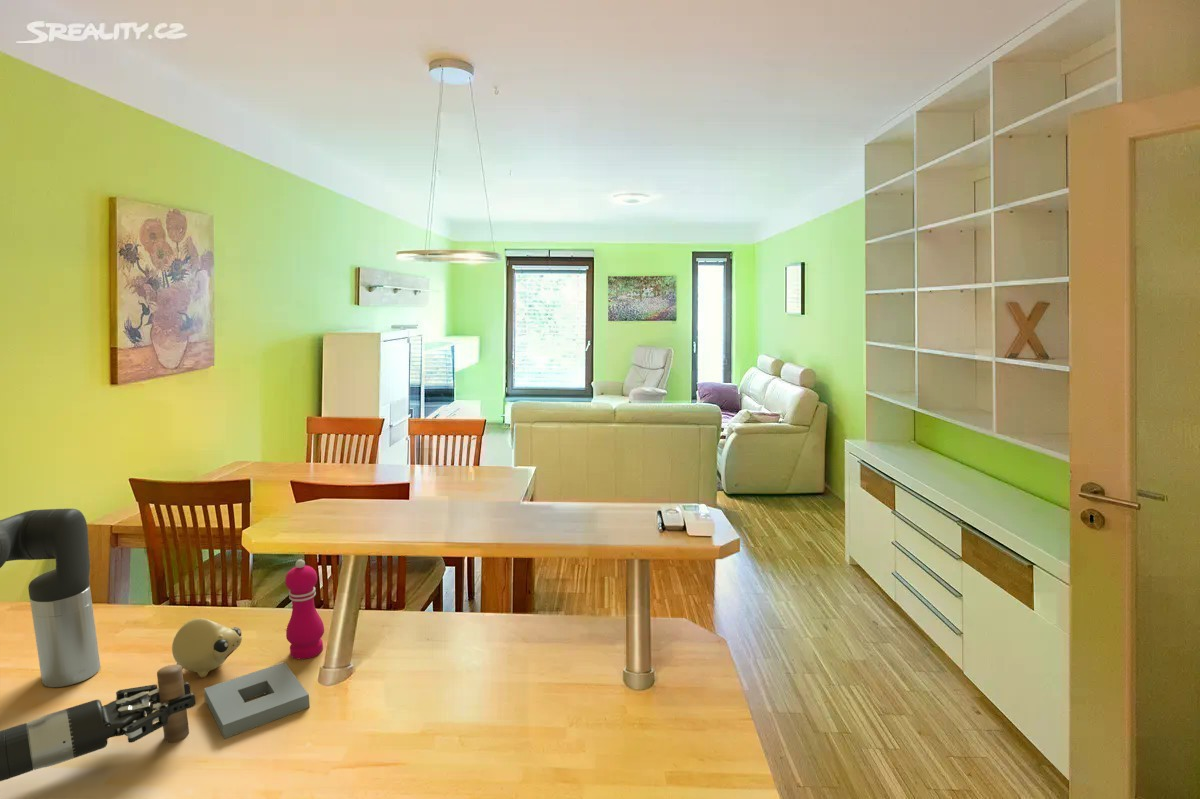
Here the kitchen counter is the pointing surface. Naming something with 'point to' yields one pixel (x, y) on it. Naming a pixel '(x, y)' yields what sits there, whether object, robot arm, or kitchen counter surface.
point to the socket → (244, 716)
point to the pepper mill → (303, 613)
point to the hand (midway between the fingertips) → (191, 693)
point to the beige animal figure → (204, 645)
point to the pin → (171, 689)
